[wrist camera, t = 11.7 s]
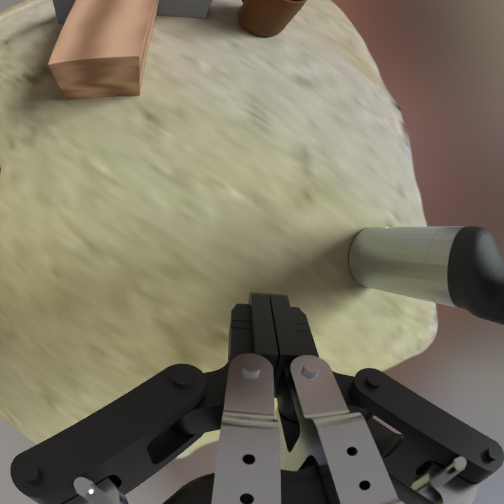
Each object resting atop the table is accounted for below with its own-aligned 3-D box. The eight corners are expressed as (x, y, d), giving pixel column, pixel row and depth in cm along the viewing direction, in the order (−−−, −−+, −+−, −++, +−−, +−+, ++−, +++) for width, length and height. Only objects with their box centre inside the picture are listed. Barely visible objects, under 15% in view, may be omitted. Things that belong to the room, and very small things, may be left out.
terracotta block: (156, 16, 28) (163, -25, 20) (140, 95, 29) (139, 56, 21) (92, 19, 25) (87, -21, 17) (66, 100, 26) (47, 64, 17)
